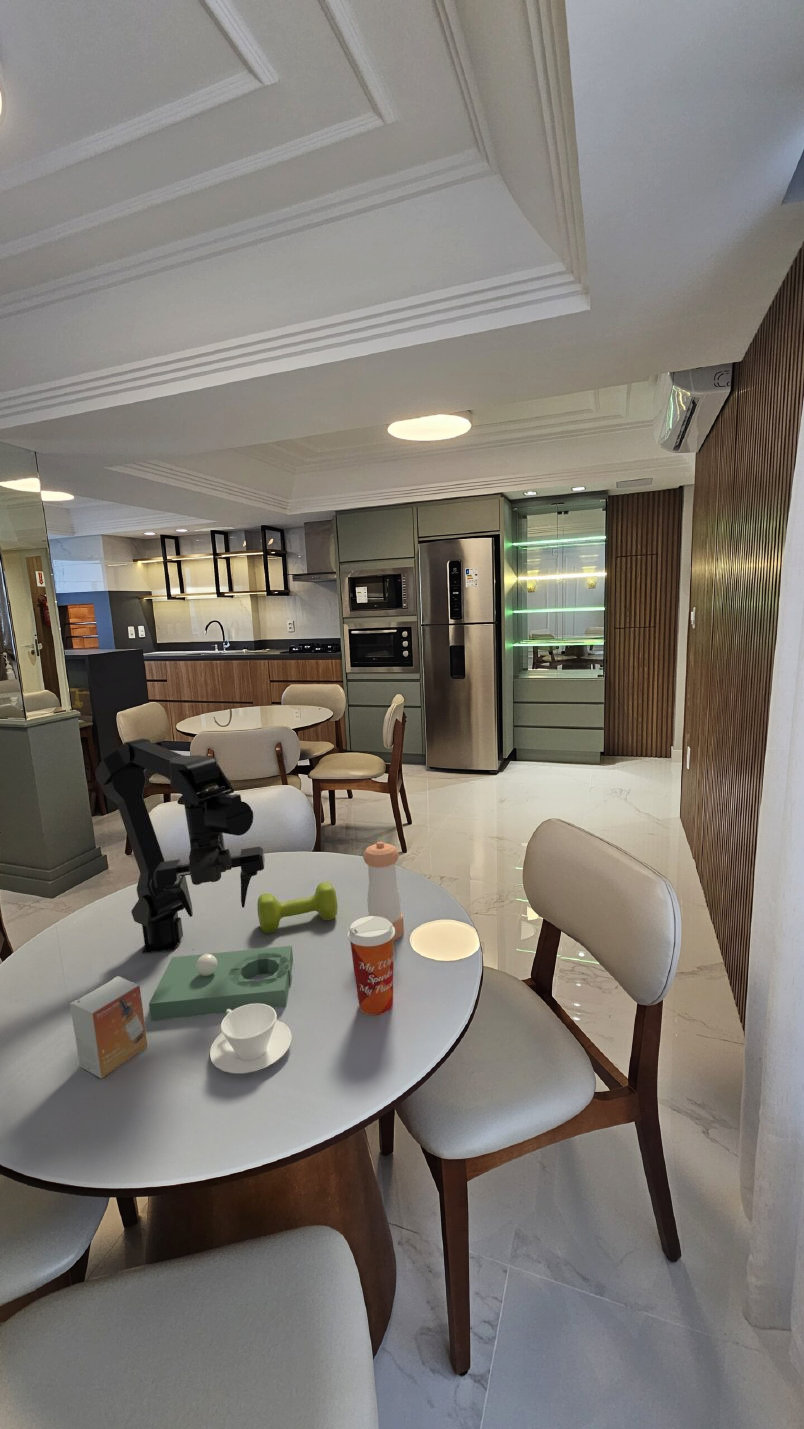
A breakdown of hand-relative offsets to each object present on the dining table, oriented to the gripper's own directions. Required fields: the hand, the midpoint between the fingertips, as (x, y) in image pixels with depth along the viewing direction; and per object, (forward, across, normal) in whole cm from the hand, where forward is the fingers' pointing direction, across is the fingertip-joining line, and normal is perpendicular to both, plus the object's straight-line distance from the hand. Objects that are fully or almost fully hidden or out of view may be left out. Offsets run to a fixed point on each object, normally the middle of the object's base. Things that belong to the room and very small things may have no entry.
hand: (217, 911), depth 114 cm
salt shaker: (+13, +31, +6) cm, 34 cm away
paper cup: (+14, +25, -17) cm, 33 cm away
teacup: (+13, +5, -23) cm, 27 cm away
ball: (+7, -2, -5) cm, 9 cm away
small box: (+12, -15, -19) cm, 27 cm away
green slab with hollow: (+12, 0, -5) cm, 13 cm away
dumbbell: (+12, +14, +15) cm, 24 cm away
